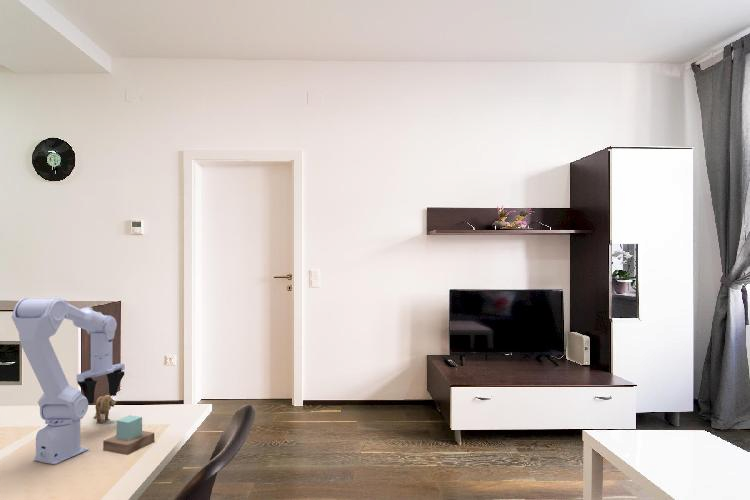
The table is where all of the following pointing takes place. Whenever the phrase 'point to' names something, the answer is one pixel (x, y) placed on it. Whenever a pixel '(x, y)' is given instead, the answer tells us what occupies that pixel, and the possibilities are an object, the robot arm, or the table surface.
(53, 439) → the robot arm
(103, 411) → the lion figurine
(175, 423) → the table surface
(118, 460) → the table surface
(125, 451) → the walnut base block
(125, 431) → the teal brick
